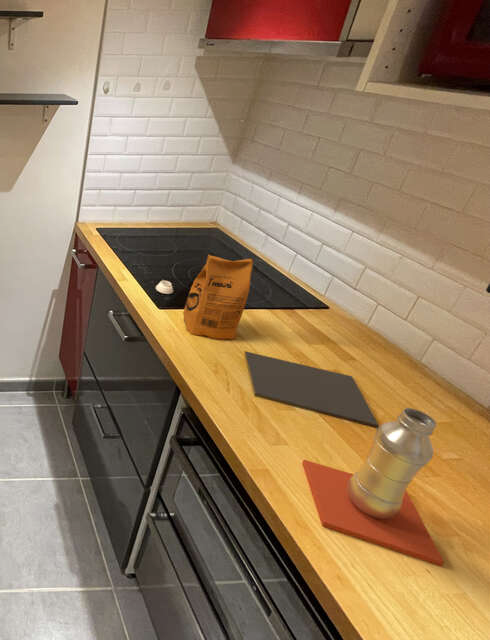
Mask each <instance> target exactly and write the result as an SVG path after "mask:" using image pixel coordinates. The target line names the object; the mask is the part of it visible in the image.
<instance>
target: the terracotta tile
mask: <svg viewBox="0 0 490 640" xmlns="http://www.w3.org/2000/svg"><path fill="white" fill-rule="evenodd" d="M302 467H303V470H304V473H305V476H306V479H307V482H308V486H309V488H310V493H311V496H312V499H313V502H314V505H315V508H316V511H317V514H318V518H319V520H320V523H321V527H324V528H326V529H330V530H332V531H336V532H339V533H342V534H345V535H347V536H351V537H353V538H357V539H360V540H362V541H366V542H369V543H371V544H374V545H377V546H381V547H383V548H386V549H389V550H392V551H395V552H398V553H401V554H404V555H407V556H410V557H412V558H416V559H419V560H421V561H425V562H427V563H430V564H434V565H437V566H439V567H442V566H443V565H444V564H445V561H444V559H443V557H442V555H441V554H440V552H439V549H438V548H437V546H436V544H435V542H434V540H433V539H432V537H431V534H430V533H429V531H428V529H427V527H426V525H425V523H424V522H423V519H422V518H421V516H420V514H419V512H418V509H417V508H416V506H415V504H414V502H413V501H412V499H411V497H410V495H409V493H408V491H407V490H406V492H405V494H404V496H403V501H402V505H401V508H400V511H399V513H398V514H396V515H395V516H394V517H393V518H390V519H379V518H375V517H373V516H370V515H368V514H366V513H365V512H363V511H362V510H360V509H359V508H358V507H357V506H356V505H355V504H354V503H353V502H352V501H351V499H350V497H349V495H348V492H347V485H348V481H349V479H350V478H351V477H352V476H353V475H354V474H355V473H351V472H347V471H343V470H341V469H337V468H333V467H330V466H327V465H323V464H320V463H318V462H313V461H311V460H307V459H303V461H302Z"/></svg>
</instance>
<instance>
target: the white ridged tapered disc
mask: <svg viewBox="0 0 490 640" xmlns="http://www.w3.org/2000/svg"><path fill="white" fill-rule="evenodd" d="M155 290H156V292H159V293H161V294H165V295H171V294H173V293H174V288H173V285H172V283H171V282H170V281H169V280H161V281H160V282H159V283H158V284H157V285H156V286H155Z"/></svg>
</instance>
